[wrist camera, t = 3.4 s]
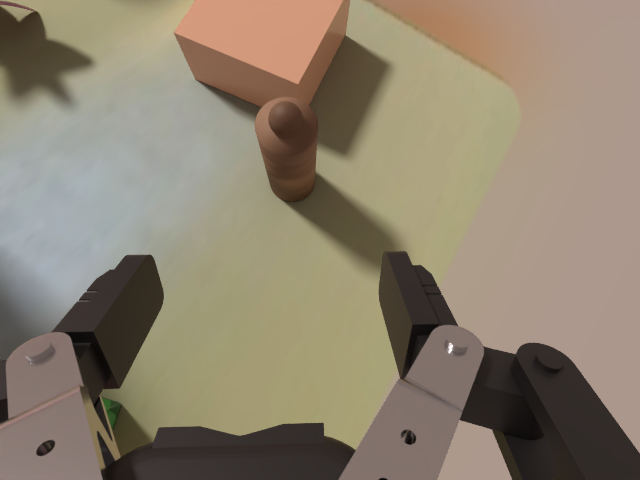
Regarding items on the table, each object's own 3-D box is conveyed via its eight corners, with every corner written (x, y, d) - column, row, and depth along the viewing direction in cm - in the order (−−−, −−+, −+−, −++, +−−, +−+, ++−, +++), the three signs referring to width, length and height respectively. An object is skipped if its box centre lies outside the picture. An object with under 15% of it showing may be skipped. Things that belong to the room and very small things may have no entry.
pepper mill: (262, 190, 34) (239, 123, 22) (281, 153, 35) (269, 70, 23) (303, 209, 33) (301, 150, 22) (322, 170, 34) (329, 95, 23)
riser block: (195, 79, 36) (173, 32, 30) (247, -5, 39) (236, -63, 33) (299, 123, 35) (298, 84, 30) (345, 34, 38) (352, -17, 32)
